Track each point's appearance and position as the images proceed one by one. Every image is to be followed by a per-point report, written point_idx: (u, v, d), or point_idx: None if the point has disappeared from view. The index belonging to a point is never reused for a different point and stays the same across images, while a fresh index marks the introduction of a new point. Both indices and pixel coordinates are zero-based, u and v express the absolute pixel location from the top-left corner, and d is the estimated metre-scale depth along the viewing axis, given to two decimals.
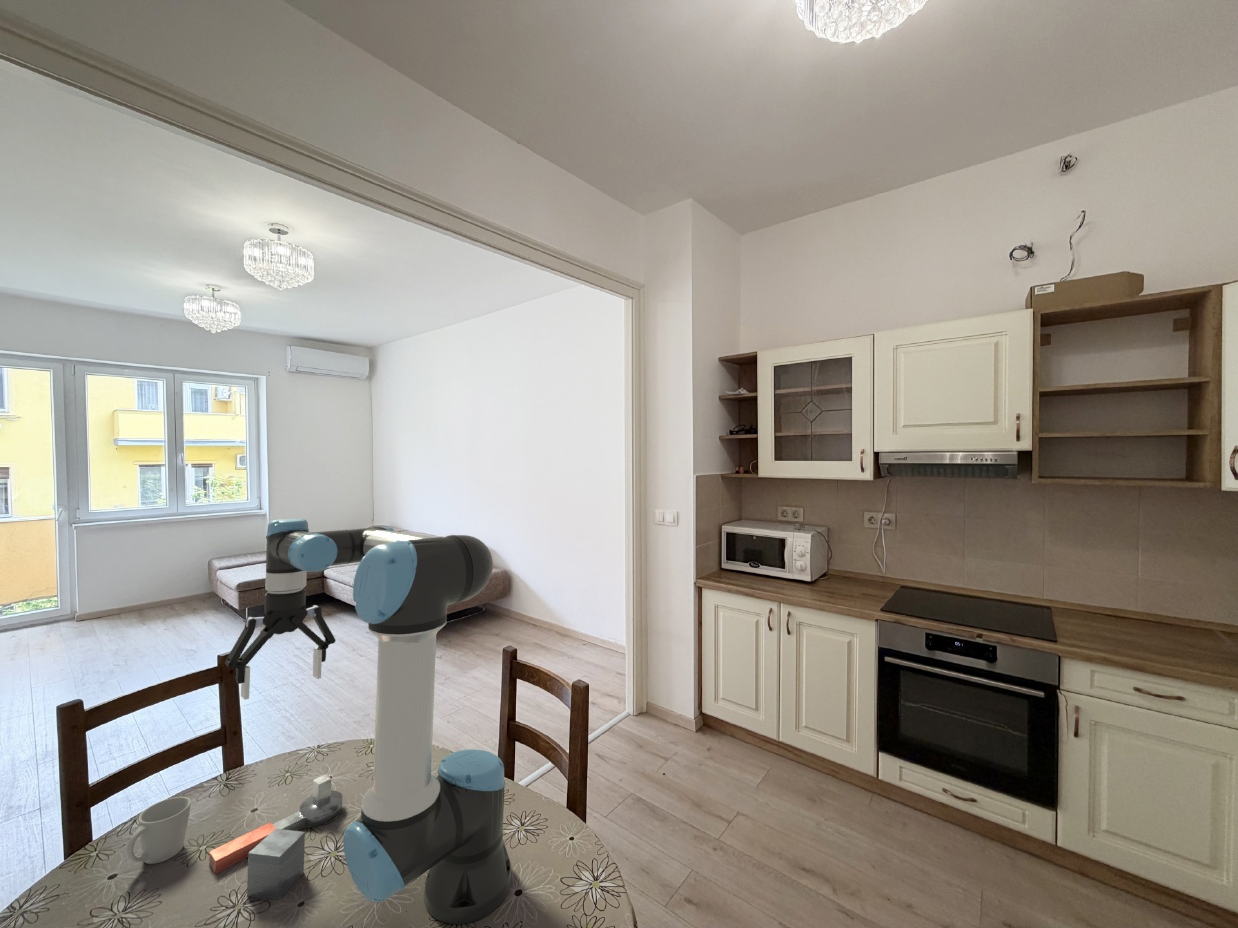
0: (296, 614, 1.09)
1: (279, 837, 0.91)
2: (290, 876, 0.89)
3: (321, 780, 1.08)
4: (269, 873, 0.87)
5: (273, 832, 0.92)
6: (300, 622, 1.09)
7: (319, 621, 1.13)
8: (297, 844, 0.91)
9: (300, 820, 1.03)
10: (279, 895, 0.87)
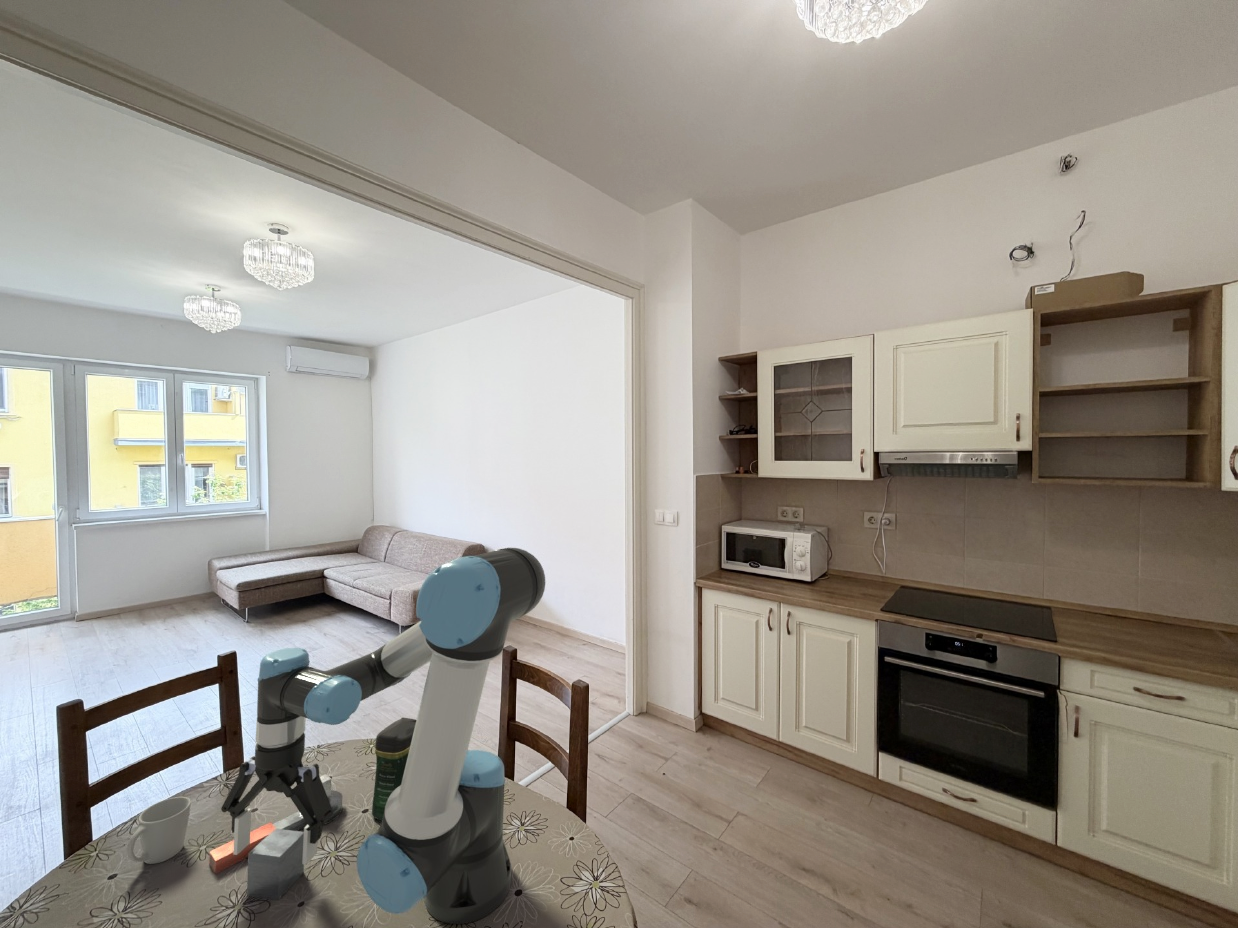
0: (284, 772, 0.89)
1: (279, 837, 0.91)
2: (290, 876, 0.89)
3: (321, 780, 1.08)
4: (269, 873, 0.87)
5: (273, 832, 0.92)
6: (284, 785, 0.88)
7: (307, 790, 0.88)
8: (297, 844, 0.91)
9: (300, 820, 1.03)
10: (279, 895, 0.87)
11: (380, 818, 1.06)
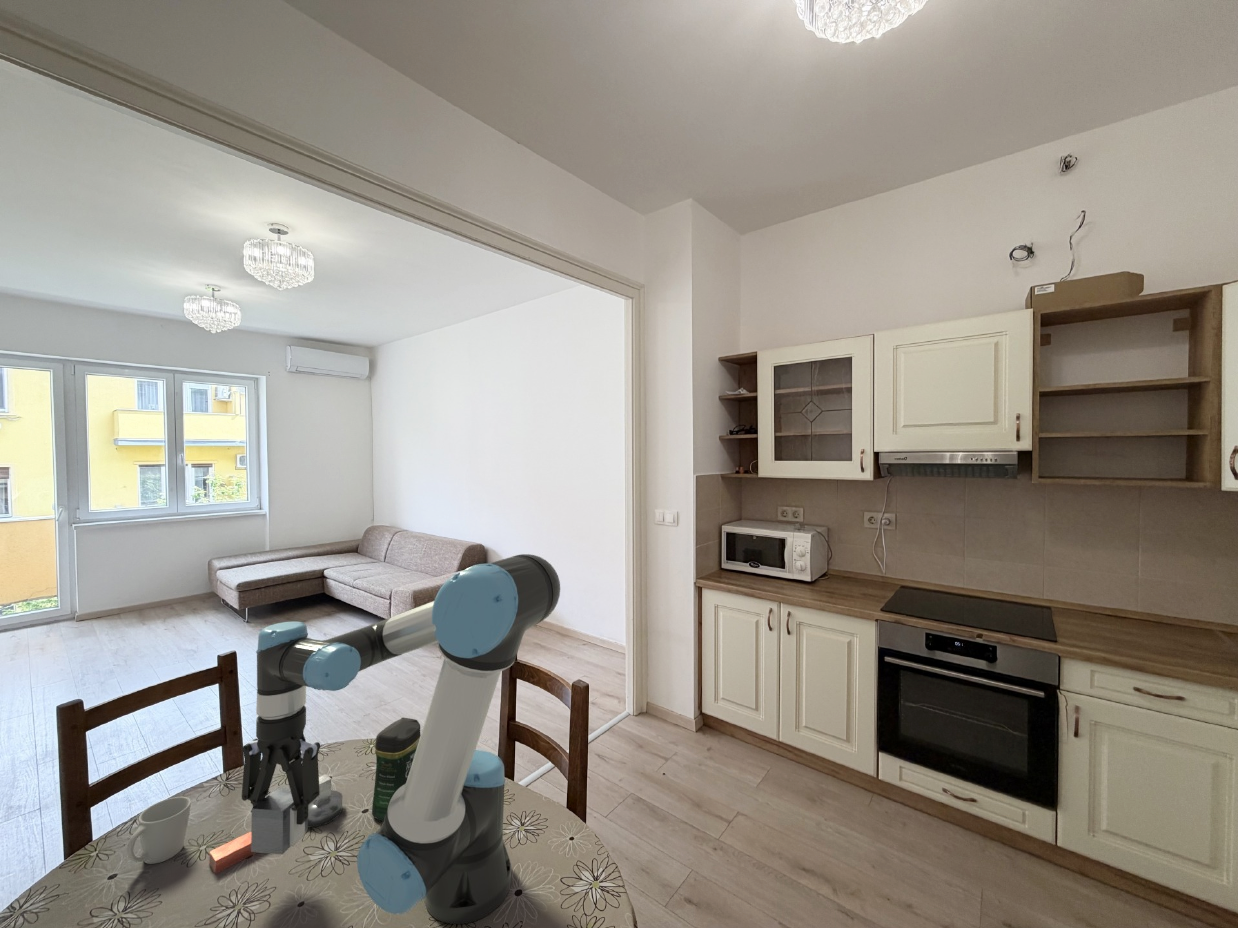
0: (286, 742, 0.89)
1: (282, 794, 0.91)
2: None
3: (321, 780, 1.08)
4: (273, 828, 0.87)
5: (276, 790, 0.92)
6: (284, 759, 0.88)
7: (303, 767, 0.88)
8: None
9: None
10: (283, 850, 0.87)
11: (380, 818, 1.06)
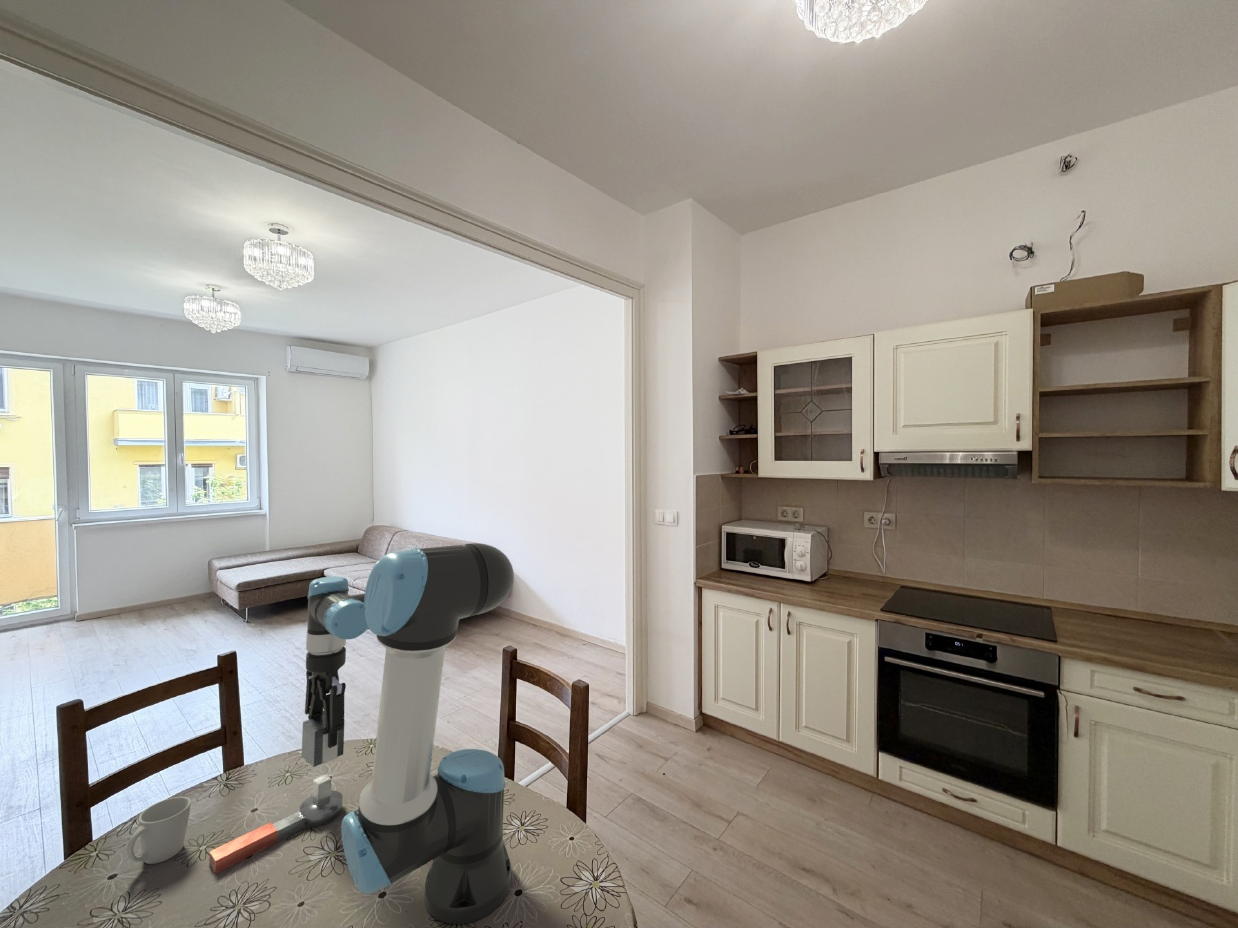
0: (324, 676, 1.06)
1: None
2: None
3: (321, 780, 1.08)
4: (310, 743, 1.05)
5: None
6: (321, 689, 1.06)
7: (330, 700, 1.04)
8: None
9: (300, 820, 1.03)
10: (315, 764, 1.04)
11: None
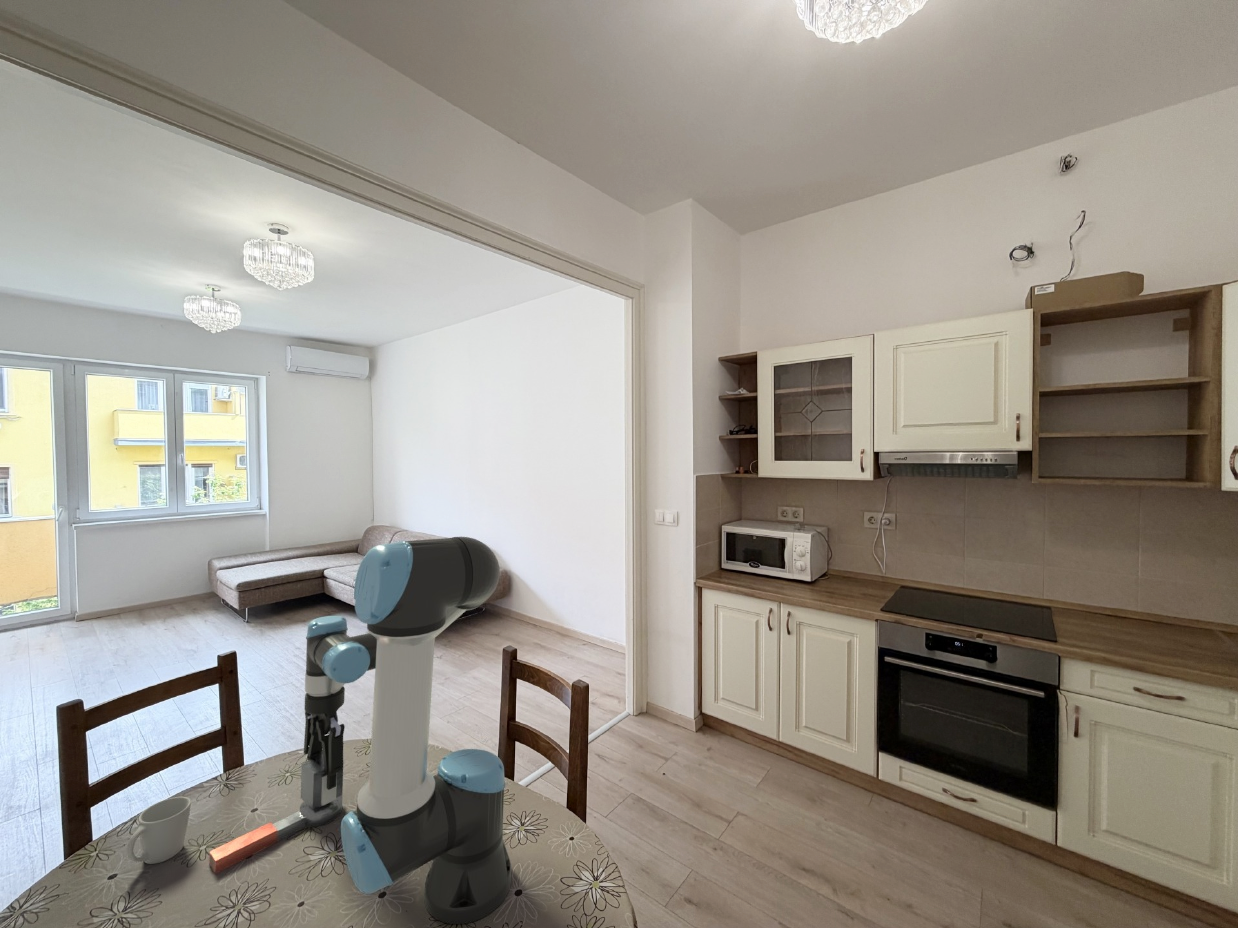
0: (323, 717, 1.06)
1: None
2: None
3: None
4: (309, 785, 1.05)
5: None
6: (319, 731, 1.06)
7: (329, 742, 1.04)
8: None
9: (300, 820, 1.03)
10: (314, 806, 1.04)
11: None
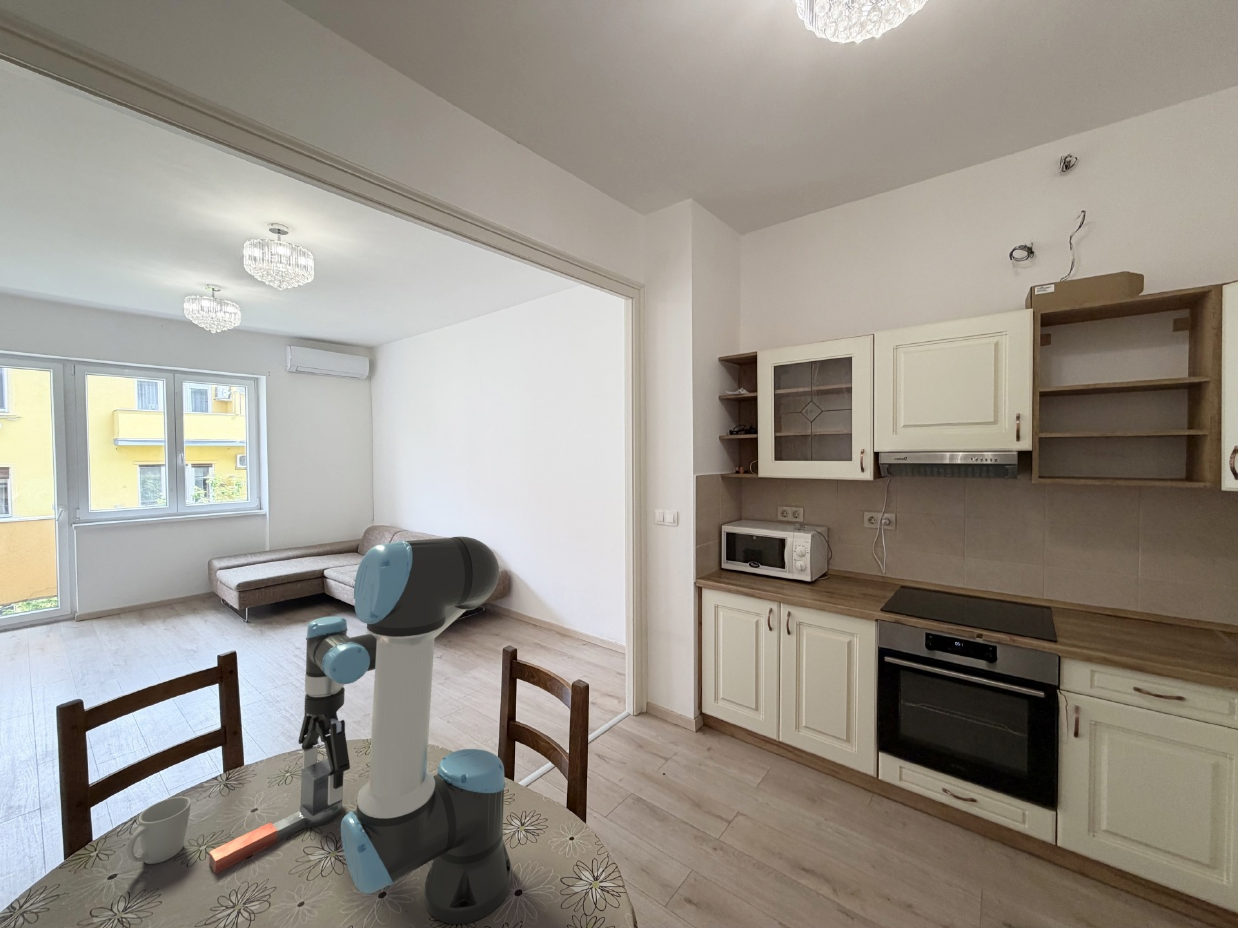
0: (322, 719, 1.06)
1: (326, 764, 1.09)
2: (326, 800, 1.06)
3: None
4: (309, 791, 1.05)
5: (327, 759, 1.11)
6: (320, 731, 1.05)
7: (331, 740, 1.03)
8: None
9: (300, 820, 1.03)
10: (314, 812, 1.04)
11: None
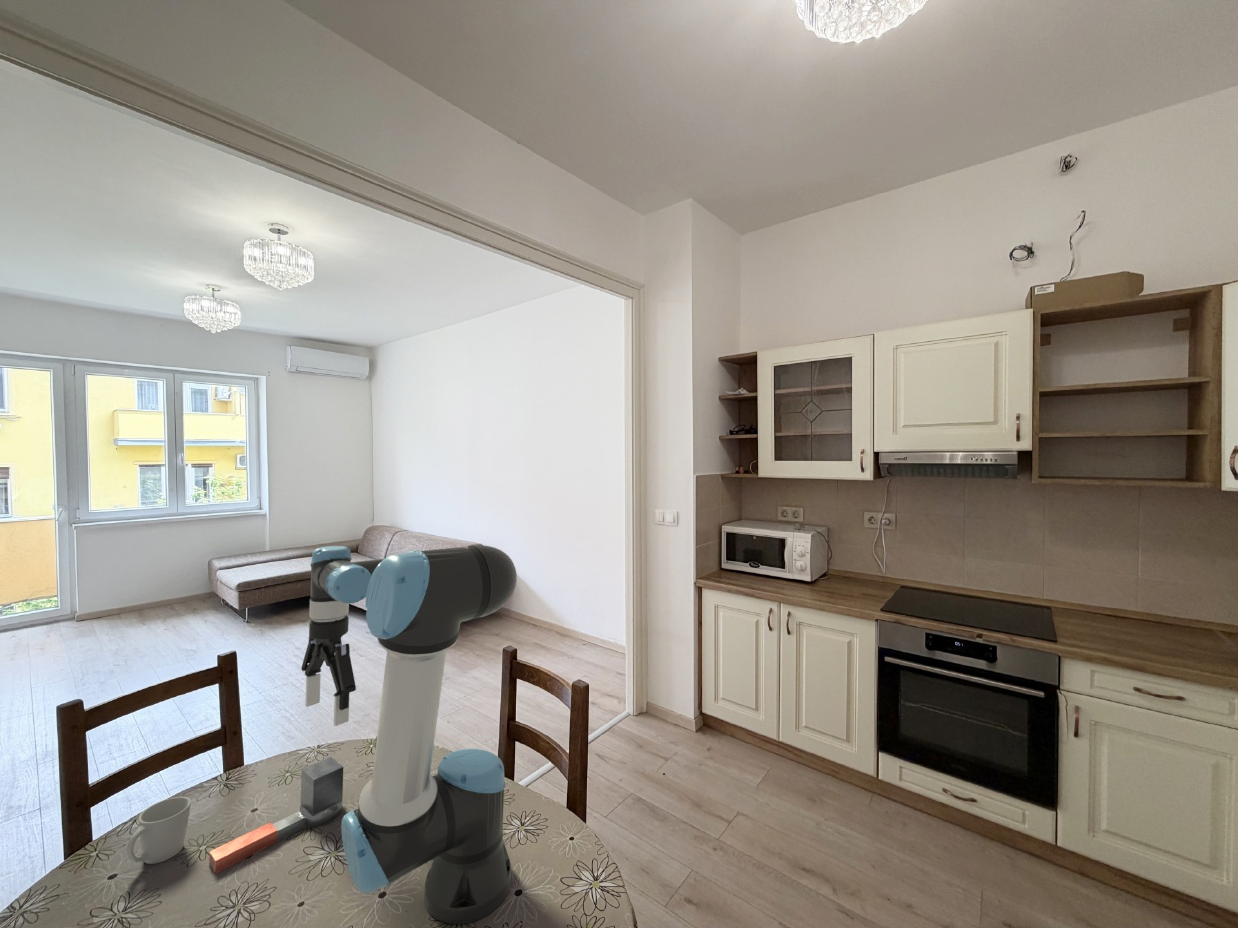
0: (327, 645, 1.07)
1: (326, 764, 1.09)
2: (326, 800, 1.06)
3: None
4: (309, 791, 1.05)
5: (327, 759, 1.11)
6: (325, 655, 1.06)
7: (336, 662, 1.05)
8: (334, 775, 1.07)
9: (300, 820, 1.03)
10: (314, 812, 1.04)
11: None
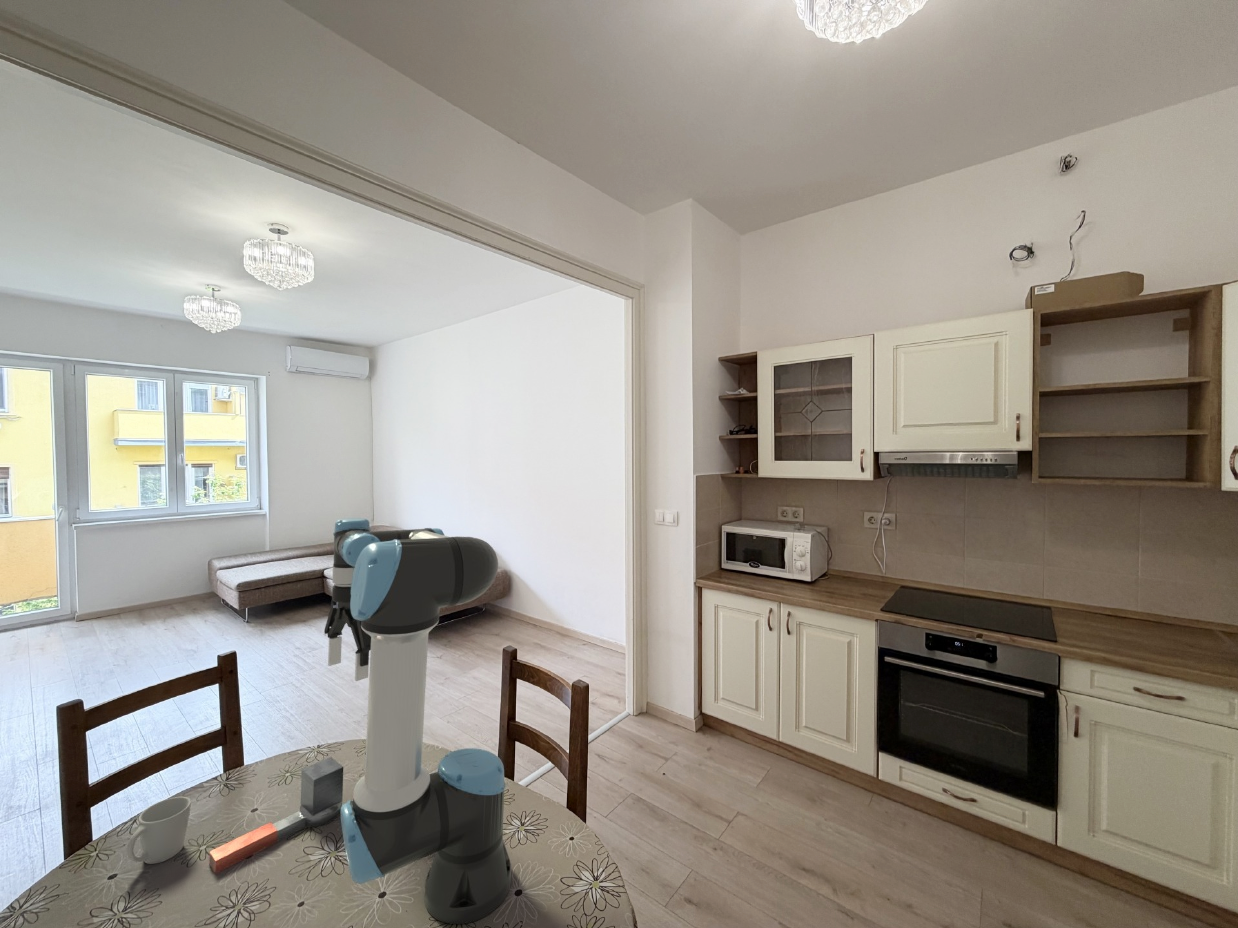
0: (348, 608, 1.17)
1: (326, 764, 1.09)
2: (326, 800, 1.06)
3: None
4: (309, 791, 1.05)
5: (327, 759, 1.11)
6: (347, 617, 1.16)
7: (357, 623, 1.14)
8: (334, 775, 1.07)
9: (300, 820, 1.03)
10: (314, 812, 1.04)
11: None
